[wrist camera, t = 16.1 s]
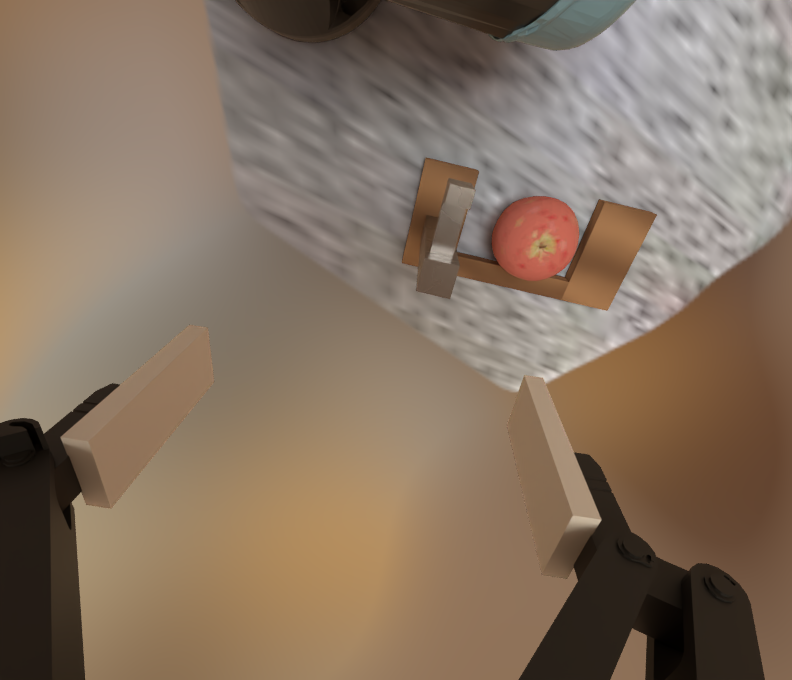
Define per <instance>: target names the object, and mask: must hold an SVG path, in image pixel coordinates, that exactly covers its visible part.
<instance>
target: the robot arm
mask: <svg viewBox="0 0 792 680" xmlns="http://www.w3.org/2000/svg"><path fill="white" fill-rule="evenodd" d="M235 1H236V2H237V3H238V4H239V5H240V6H241V7H242V9H243V10H245V11H246V12H247V13H248V14H249V15H250V16H251V17H253V18H254V19H255V20H256V21H258V22H259V23H261V24H262V25H264V26H265V27H267V28H269V29H271V30H272V31H274V32H276V33H278V34H280V35H282V36H284V37H287V38H290V39H293V40H297V41H302V42H323V41H329V40H332V39H336V38H338V37H341V36H343V35H345V34H347V33H349V32H350V31H352V30H354V29H355V28H356V27H358V26H359V25H360V24H361V23H363V22H364V21H365V20H366V19H367V18H368V17H369V16H370V15H371V13H372V12H373V11H374V10H375V8H376V7H377V6H378V4H379V3H380V1H381V0H235ZM387 1H390V2H393V3H396V4H399V5H402V6H405V7H408V8H411V9H414V10H417V11H420V12H423V13H426V14H429V15H432V16H435V17H438V18H441V19H444V20H447V21H450V22H453V23H456V24H459V25H462V26H465V27H468V28H471V29H475V30H478V31H481V32H484V33H487V34H488V35H489V36H490V37H491V38H492V39H494V40H496V41H499V42H501V41H504V42H506V43H509V42H514V41H518V42H522V43H526V44H530V45H533V46H537V47H541V48H545V49H549V50H556V51H557V50H567V49H571V48H575V47H578V46H581V45H583V44H585V43H586V42H588V41H590V40H592V39H593V38H595V37H596V36H598V35H599V34H601V33H602V32H603V31H605V30H606V29H607V28H608V27H610V26H611V25H612V24H613V23H614V22H615V21H616V20H617V19H618V18H620V17H621V16H622V15H623V14H624V13H625V12H626V11H627V10H628V9H629V7H630V6H631V5H632V4H633V3H634V2H635V1H636V0H387ZM213 383H214V376H213V367H212V359H211V351H210V342H209V333H208V328H207V327H200V326H193V325H189V326H188V327H186V328H185V329H184V330H183V331H182V332H181V333H180V334H178V335H177V336H176V337H175V338H174V339H173V340H172V341H170V342H169V343H168V344H167V345H166V346H165V347H164V348H162V349H161V350H160V351H159V352H158V353H157V354H155V356H153V357H152V358H151V359H150V360H149V361H147V362H146V363H145V364H144V365H143V366H142V367H140V368H139V369H138V370H137V371H136V372H135V373H134V374H132V375H131V376H130V377H129V378H128V379H127V380H126V381H125V382H123V383H122V384H121V385H118V384H113V383H112V384H110V385H108V386H106V387H104V388H102V389H99V390H97V391H95V392H94V393H93V394H92V395H91V396H89V397H88V398H87V399H86V400H84V401H83V404H80V405H78V406H77V407H76V408H75V409H74V410H73V412H70V413H69V414H68V415H66V416H65V417H64V418H63V419H61V420H60V421H59V422H58V423H57V424H55V425H54V426H53V427H52V428H51V429H49V430H48V431H47V432H46V433H44V434H43V431H42V429H41V427H40V424H39V422H38V421H35V420H33V419H27V418H20V419H13V420H8V421H5V422H2V423H0V680H85V670H84V654H83V639H82V623H81V609H80V608H81V607H80V593H79V576H78V561H77V544H76V529H75V514H74V507H73V505H72V503H71V502H72V501H73V500H74V499H75V498H76V497H77V496H78V495H79V494H80V492H82V495H83V497H84V500H85V503H86V505H92V506H98V507H104V508H112V507H113V506H114V505H115V503H116V502H117V501H118V500H119V498H120V497H121V496H122V495H123V493H124V492H125V491H126V490H127V489H128V487H129V486H130V485H131V484H132V482H133V481H134V479H136V477H137V476H138V475H139V473H141V471H142V470H143V469H144V468H145V466H146V465H147V464H148V463H149V462H150V460H151V459H152V457H154V455H155V454H156V453H157V451H158V450H159V449H160V448H161V447H162V446H163V444H164V443H165V442H166V441H167V439H168V438H169V437H170V435H171V434H172V433H173V432H174V431H175V430H176V428H177V427H178V426H179V425H180V423H181V422H182V421H183V420H184V418H185V417H186V416H187V415H188V413H189V412H190V411H191V410H192V409H193V407H194V406H195V405H196V404H197V403H198V401H199V400H200V399H201V397H202V396H203V395H204V394H205V393H206V391H207V390H208V389H209V388H210V387H211V385H212V384H213ZM507 429H508V433H509V438H510V442H511V446H512V450H513V454H514V459H515V463H516V467H517V471H518V476H519V480H520V485H521V488H522V493H523V497H524V502H525V506H526V510H527V514H528V518H529V522H530V527H531V531H532V536H533V540H534V544H535V549H536V553H537V557H538V561H539V565H540V570H541V574H542V575H546V576H552V577H559V578H565V579H567V578H568V576H569V574H570V573H571V571H572V569H573V568H574V569H575V572H576V575H577V579H578V582H577V584H576V586H575V587H574V589H573V591H572V592H571V594H570V596H569V597H568V599H567V600H566V602H565V604H564V606H563V607H562V609H561V610H560V612H559V614H558V615H557V617H556V619H555V620H554V622H553V624H552V625H551V627H550V629H549V630H548V632H547V634H546V635H545V637H544V639H543V640H542V642H541V643H540V645H539V647H538V648H537V650H536V652H535V653H534V655H533V657H532V658H531V660H530V662H529V663H528V665H527V667H526V668H525V670H524V672H523V673H522V675H521V677H520V678H519V680H610V679H611V676H612V674H613V672H614V669H615V667H616V665H617V662H618V660H619V658H620V655H621V653H622V651H623V648H624V646H625V643H626V641H627V639H628V636H629V634H630V632H631V629H632V628H633V629H635V630H637V631H639V632H641V633H643V634H645V635H647V649H646V651H647V652H646V678H645V680H765V678H764V673H763V667H762V662H761V657H760V651H759V646H758V641H757V636H756V631H755V625H754V619H753V614H752V609H751V604H750V601H749V599H748V596H747V594H746V593H745V591H744V590H743V589H742V587H741V586H740V585H739V584H738V583H737V582H736V581H735V580H734V579H733V578H732V577H731V576H730V575H729V574H727V573H725V572H724V571H722V570H720V569H719V568H717V567H715V566H712V565H709V564H702V563H700V564H699V563H698V564H696V565H695V566H693V567H692V568H691V569H690V570H689V571H687V570H685V569H682V568H680V567H678V566H675V565H673V564H671V563H668V562H666V561H664V560H662V559H660V558H658V557H656V555H655V552H654V551H653V550H652V549H651V547H650V546H649V545H648V543H646V542H645V541H644V540H643V539H642V538H640V537H639V536H637V535H636V534H634V533H632V532H631V531H630V529H629V526H628V524H627V522H626V520H625V518H624V516H623V514H622V512H621V509H620V507H619V505H618V503H617V501H616V499H615V497H614V495H613V493H611V488H610V486H609V484H608V483H607V482H606V478H605V476H604V474H603V471H602V469H601V467H600V466H599V465H598V464H597V463H596V462H595V461H594V459H593V458H592V457H591V456H590V455H587V454H581V453H574V452H573V449H572V447H571V445H570V442H569V440H568V437H567V435H566V433H565V430H564V428H563V425H562V423H561V421H560V418H559V416H558V413H557V411H556V408H555V406H554V404H553V401H552V399H551V396H550V394H549V392H548V389H547V387H546V384H545V382H544V379H543V378H540V377H533V376H527V375H524V378H523V380H522V383H521V386H520V389H519V392H518V395H517V398H516V401H515V404H514V407H513V410H512V412H511V415H510V418H509V421H508V424H507Z"/></svg>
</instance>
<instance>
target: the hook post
mask: <svg viewBox="0 0 792 680" xmlns="http://www.w3.org/2000/svg"><path fill="white" fill-rule="evenodd" d="M475 191H476V190H475V188H474V187H473V185H472V184H471V183H468V182H463V181H459V180H455V179H451V178H448V181H447V185H446V189H445V193H444V197H443V200H442V204H441V208H440V212H439V216H438V218H437V217H433V216H429V215H426V220H425V224H424V228H423V232H422V236H421V241H420V252H419V264H418V275H417V287H416V291H418V292H422V293H427V294H431V295H435V296H440V297H444V298H448V299H450V297H451V294H452V290H453V287H454V284H455V280H456V277H457V274H458V270H459V267H460V265H459V260H458V255H457V250H456V243H457V240H458V236H459V233H460V229H461V226H462V222H463V219H464V215H465V212H466V209H468V210H470V208H471V204H472V201H473V198H474V194H475Z"/></svg>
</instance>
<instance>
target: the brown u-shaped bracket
mask: <svg viewBox="0 0 792 680" xmlns="http://www.w3.org/2000/svg"><path fill="white" fill-rule="evenodd" d="M478 174H479V171H478V170H476V169H472V168H468V167H463V166H459V165H455V164H451V163H447V162H443V161H439V160H434V159H430V158H426V159H425V163H424V168H423V172H422V176H421V181H420V185H419V189H418V194H417V198H416V203H415V207H414V211H413V216H412V220H411V224H410V229H409V233H408V238H407V242H406V246H405V251H404V255H403V259H402V263H405V264H409V265H413V266H417V267H418V264H419V252H420V241H421V236H422V232H423V228H424V224H425V220H426V215H429V216H433V217H437V218H438V216H439V212H440V208H441V204H442V200H443V197H444V193H445V189H446V185H447V181H448V178H451V179H455V180H459V181H463V182H468V183H471V184H472V185H473V187H475V184H476V180H477V177H478ZM467 211H468V209H466V212H465V215H464V219H463V222H462V226H461V229H460V233H459V236H458V240H457V243H456V249H457V245H458V242H459V239H460V235H461V232H462V228H463V225H464V221H465V218H466V215H467ZM656 216H657V215H656V214H654V213H652V212H649V211H645V210H641V209H637V208H633V207H629V206H624V205H620V204H616V203H612V202H608V201H604V200H600V199H599V201H598V203H597V206H596V208H595V210H594V213H593V215H592V217H591V219H590V222H589V224H588V226H587V228H586V231H585V233H584V235H583V237H582V240H581V242H580V244H579V247H578V249H577V251H576V253H575V256H574V258H573V260H572V262H571V265H570V267H569V269H568V272H567V274H566V276H565V277H562V276H558V275H554V276H552V277H549V278H547V279H543V280H539V281H527V280H523V279H520V278H517V277H515V276H513V275H511V274H509V273H508V272H507V271H505V270H504V269H503V268H502V267H501V266H500V265H499V263H498V261H494V260H489V259H485V258H481V257H477V256H472V255H468V254H464V253H460V252H457V255H458V260H459V265H460V267H459V270H458V274H457V276H460V277H465V278H469V279H473V280H478V281H482V282H486V283H491V284H495V285H499V286H503V287H508V288H512V289H516V290H521V291H525V292H529V293H534V294H538V295H542V296H546V297H551V298H555V299H559V300H564V301H568V302H572V303H577V304H581V305H585V306H589V307H594V308H598V309H602V310H608V308H609V307H610V305H611V303H612V301H613V299H614V297H615V295H616V293H617V291H618V289H619V287H620V285H621V283H622V281H623V279H624V278H625V276H626V274H627V272H628V270H629V268H630V266H631V264H632V262H633V260H634V258H635V256H636V254H637V252H638V250H639V248H640V247H641V245H642V243H643V241H644V239H645V237H646V235H647V233H648V231H649V229H650V227H651V225H652V223H653V221H654V219H655V218H656Z"/></svg>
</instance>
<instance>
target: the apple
mask: <svg viewBox="0 0 792 680" xmlns="http://www.w3.org/2000/svg"><path fill="white" fill-rule="evenodd" d="M578 239H579V227H578V221H577V219H576V216H575V214H574V212H573V211H572V210H571V208H570V207H569V206H568V205H567V204H566V203H564V202H562V201H560V200H558V199H555V198H551V197H546V196H533V197H528V198H523V199H521V200H518V201H516V202H513V203H512V204H511V205H510V206H509V207H507V208H506V209H505V210H504V211H503V213H502V214H501V216H500V217H499V219H498V221H497V223H496V224H495V227H494V230H493V233H492V248H493V253H494V256H495V258H496V259H497V261H498V263H499V265H500V266H501V267H502V268H503V269H504V270H505V271H507V272H508V273H509V274H511V275H513V276H515V277H517V278H520V279H523V280H527V281H539V280H543V279H547V278H549V277H552V276H554V275H556V274H557V273H559V272H560V271H561V270H563V269H564V268H565V267H566V266H567V265H568V264H569V262H570V261H571V259H572V258H573V256H574V254H575V252H576V249H577V245H578Z"/></svg>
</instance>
